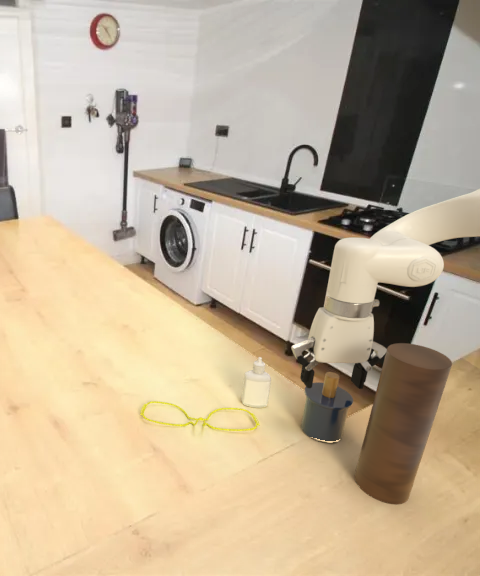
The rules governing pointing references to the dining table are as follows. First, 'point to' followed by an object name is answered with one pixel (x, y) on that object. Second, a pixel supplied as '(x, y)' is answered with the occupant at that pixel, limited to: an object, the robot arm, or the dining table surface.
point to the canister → (323, 421)
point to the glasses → (201, 417)
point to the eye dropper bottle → (256, 386)
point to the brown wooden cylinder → (401, 420)
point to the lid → (329, 393)
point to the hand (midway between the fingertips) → (331, 384)
